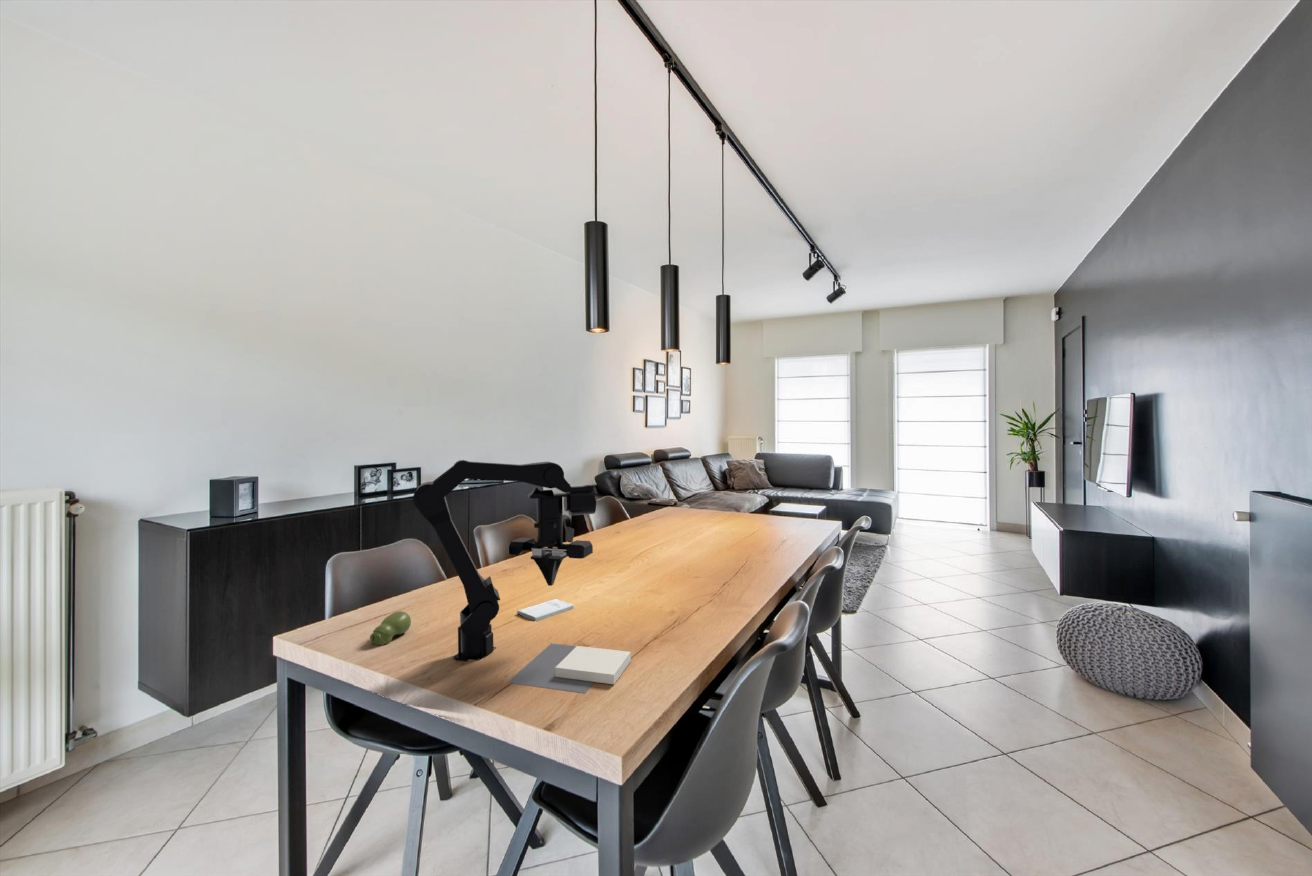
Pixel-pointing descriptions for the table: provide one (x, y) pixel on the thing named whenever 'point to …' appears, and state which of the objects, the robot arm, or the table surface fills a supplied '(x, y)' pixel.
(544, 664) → the mat
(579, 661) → the tile
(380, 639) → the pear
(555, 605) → the external hard drive
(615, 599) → the table surface
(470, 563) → the robot arm
